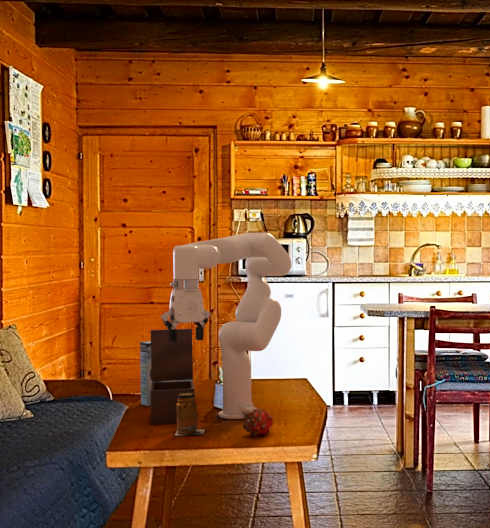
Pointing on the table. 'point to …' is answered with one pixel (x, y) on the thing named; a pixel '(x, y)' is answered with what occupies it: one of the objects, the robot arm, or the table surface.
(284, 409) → the table surface
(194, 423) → the condiment
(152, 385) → the chest
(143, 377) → the gum box
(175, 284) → the robot arm
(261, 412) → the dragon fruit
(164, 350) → the dark brown upright block
